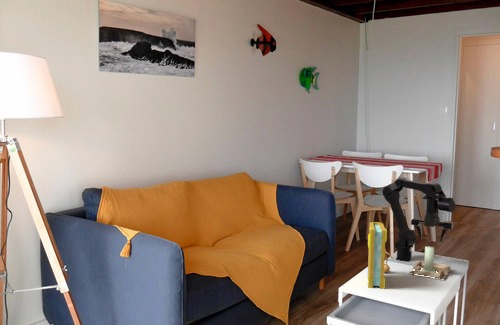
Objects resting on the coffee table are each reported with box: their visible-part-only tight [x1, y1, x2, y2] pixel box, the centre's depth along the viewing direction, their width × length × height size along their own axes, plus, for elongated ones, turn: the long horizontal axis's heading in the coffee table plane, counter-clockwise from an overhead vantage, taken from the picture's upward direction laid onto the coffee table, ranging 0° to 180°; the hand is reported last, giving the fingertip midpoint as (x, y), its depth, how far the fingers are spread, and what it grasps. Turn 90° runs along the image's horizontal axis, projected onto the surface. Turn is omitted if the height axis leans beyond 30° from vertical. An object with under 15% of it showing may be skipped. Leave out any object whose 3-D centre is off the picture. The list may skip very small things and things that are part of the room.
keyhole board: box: [409, 260, 451, 280], centre depth 221 cm, size 15×18×2 cm
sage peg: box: [422, 245, 436, 273], centre depth 217 cm, size 6×6×12 cm
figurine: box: [384, 248, 394, 274], centre depth 218 cm, size 8×6×12 cm
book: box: [367, 221, 388, 290], centre depth 205 cm, size 17×7×25 cm, turn 168°
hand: (431, 240), depth 229 cm, fingers open, 9 cm apart
